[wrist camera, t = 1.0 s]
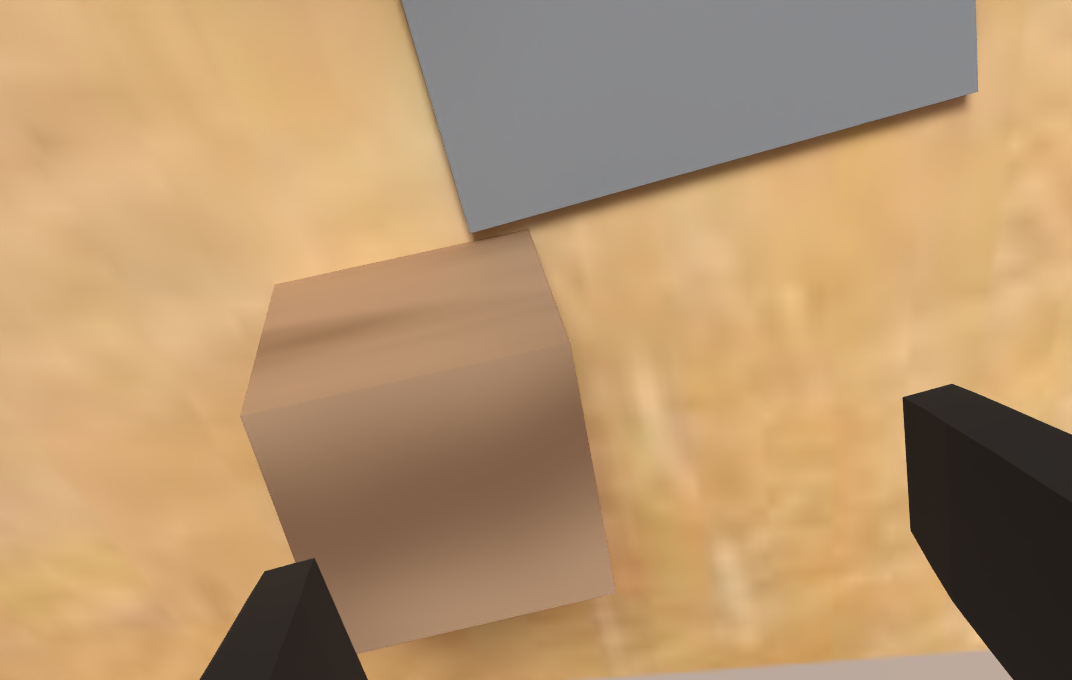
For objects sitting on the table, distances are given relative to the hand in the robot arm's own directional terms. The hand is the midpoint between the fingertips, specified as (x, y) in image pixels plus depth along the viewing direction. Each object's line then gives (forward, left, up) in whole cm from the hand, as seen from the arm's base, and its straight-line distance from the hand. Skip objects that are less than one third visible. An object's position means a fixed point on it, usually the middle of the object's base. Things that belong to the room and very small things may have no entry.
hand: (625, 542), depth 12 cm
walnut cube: (-3, +3, -10) cm, 11 cm away
